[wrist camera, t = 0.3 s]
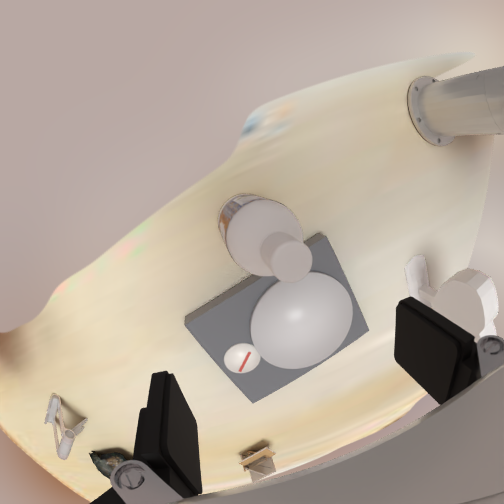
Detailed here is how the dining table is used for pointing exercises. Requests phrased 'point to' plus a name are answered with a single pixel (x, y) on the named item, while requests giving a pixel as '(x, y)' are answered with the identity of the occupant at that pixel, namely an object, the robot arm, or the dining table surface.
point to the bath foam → (264, 238)
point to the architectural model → (259, 463)
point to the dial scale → (280, 324)
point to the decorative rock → (107, 462)
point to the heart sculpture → (457, 297)
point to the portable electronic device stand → (62, 427)
